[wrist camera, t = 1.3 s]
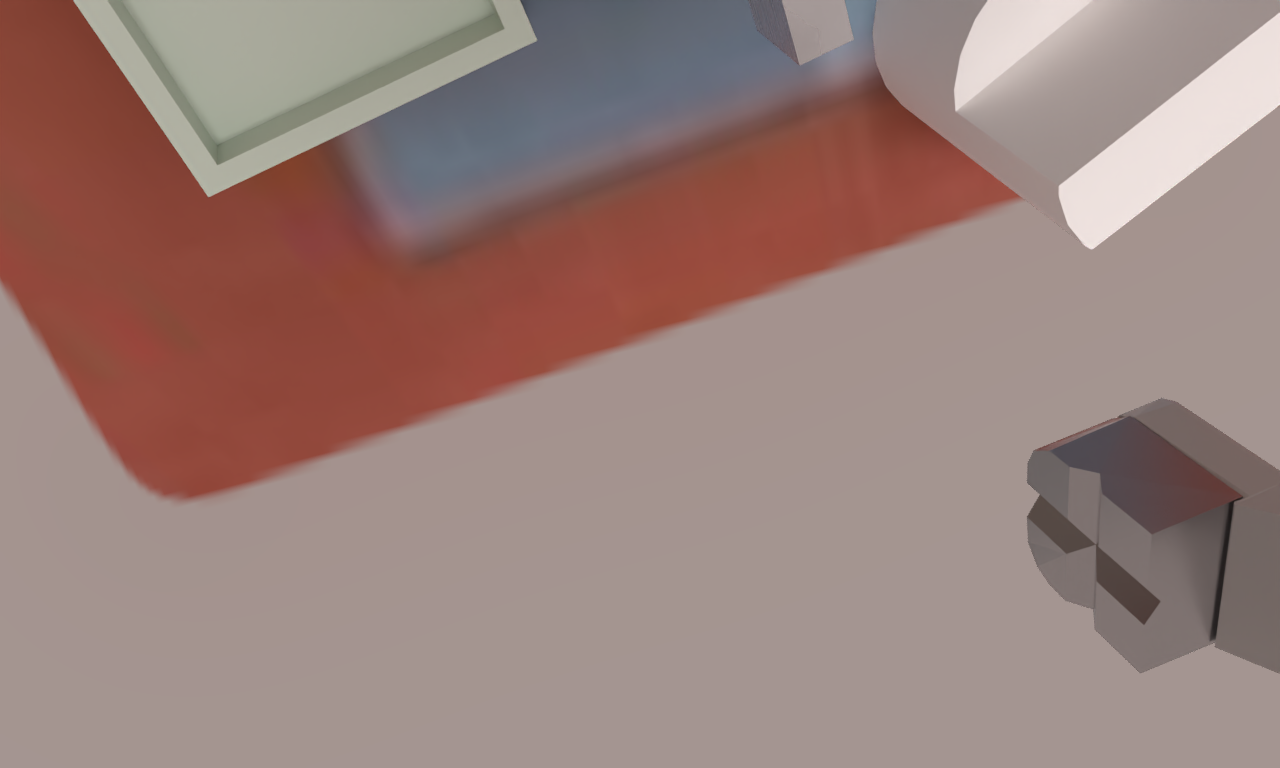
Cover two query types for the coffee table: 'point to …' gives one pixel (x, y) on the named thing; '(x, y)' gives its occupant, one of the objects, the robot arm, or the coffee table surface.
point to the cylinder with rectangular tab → (1083, 92)
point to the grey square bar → (803, 26)
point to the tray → (291, 67)
